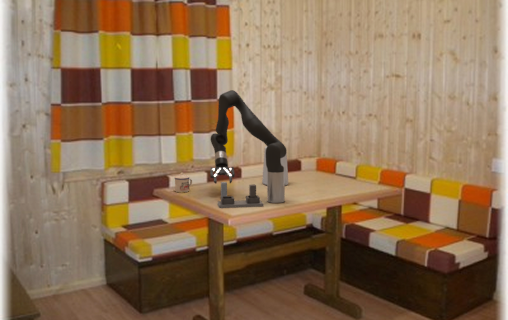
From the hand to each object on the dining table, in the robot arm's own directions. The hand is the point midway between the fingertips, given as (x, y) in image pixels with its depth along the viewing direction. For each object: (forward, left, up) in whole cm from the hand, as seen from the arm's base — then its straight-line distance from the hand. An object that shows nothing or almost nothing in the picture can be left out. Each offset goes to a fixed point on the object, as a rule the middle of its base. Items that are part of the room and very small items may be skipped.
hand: (223, 182), depth 315 cm
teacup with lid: (+22, -22, -9) cm, 32 cm away
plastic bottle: (-38, -34, -9) cm, 52 cm away
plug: (0, +4, -9) cm, 10 cm away
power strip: (-7, +22, -9) cm, 25 cm away
